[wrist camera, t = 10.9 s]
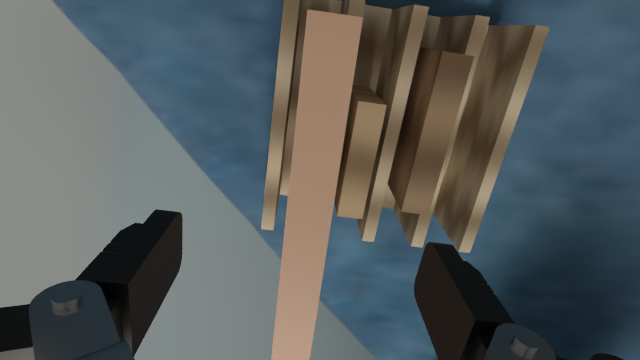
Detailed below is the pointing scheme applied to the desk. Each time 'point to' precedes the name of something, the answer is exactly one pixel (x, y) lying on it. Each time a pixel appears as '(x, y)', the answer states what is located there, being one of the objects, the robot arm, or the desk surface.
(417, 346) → the desk surface
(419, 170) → the offcut tall
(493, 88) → the rack
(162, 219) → the robot arm
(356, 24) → the tall sheet
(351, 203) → the offcut short
